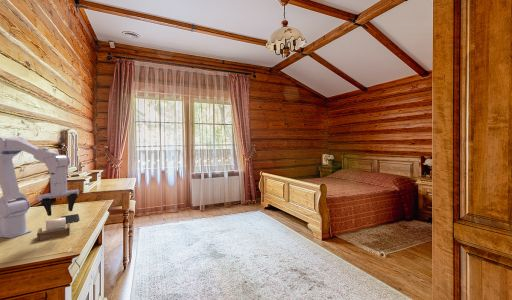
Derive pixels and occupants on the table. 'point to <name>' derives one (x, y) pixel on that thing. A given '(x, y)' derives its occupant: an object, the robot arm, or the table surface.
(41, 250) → the table surface
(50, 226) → the paper roll
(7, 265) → the table surface
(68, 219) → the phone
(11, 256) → the table surface
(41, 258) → the table surface
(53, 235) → the roll holder
